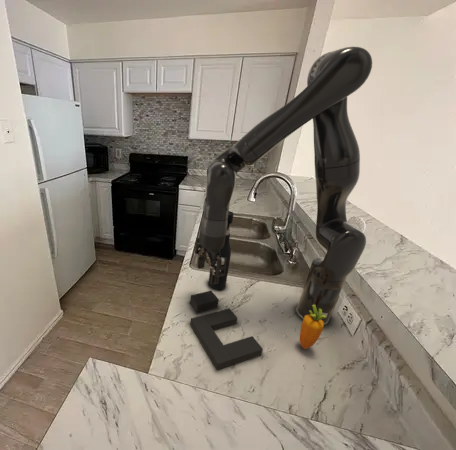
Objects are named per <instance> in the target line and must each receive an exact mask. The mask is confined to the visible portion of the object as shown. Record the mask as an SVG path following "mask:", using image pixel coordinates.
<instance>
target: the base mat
mask: <svg viewBox="0 0 456 450" xmlns="http://www.w3.org/2000/svg"><path fill="white" fill-rule="evenodd" d="M189 323H190V324H189V325H190V326H191V328H192V330H193V332H194V333H195V335H196V337H197V338H198V340H199V342H200V343H201V345H202V347H203V349H204V350H205V353H206V354H207V356H208V357H209V359H210V360H211V363H212V364H213V366H214V368H215V369H216V371H219V370H222V369H225V368H228V367H230V366H233V365H236V364H239V363H242V362H246V361H248V360H250V359H254V358H257V357H260V356H262V354H263V351H264V349H263V347H262V346H261V345H260V343H259V342H258V341H257V340H256V338H255V337H254V336H253V335H251V336H247V337H244V338H241V339H239V340H235V341H231V342H229V343H226V344H223V342H222V340H221V339H220V338H219V336H218V334H217V333H216V331H217V330H220V329H225V328H227V327H228V328H229V327H231V326H234V325H237V323H238V316H236V314H235V313H234V311H233V310H231V308H230V307H229V308H225V309H221V310H218V311H214V312H210V313H206V314H202V315H199V316H195V317H191V318H190V322H189Z"/></svg>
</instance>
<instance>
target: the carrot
mask: <svg viewBox="0 0 456 450" xmlns="http://www.w3.org/2000/svg"><path fill="white" fill-rule="evenodd" d="M312 307H313V311H314V314H313V312H312V311H311V310H309V311H310V313H311V314H310V315H305V316H304V319H302V323H301V327H300V330H299V343H300V346H301V348H302V349H304V350H306V349H309V348H311V347H313V346H314V345H315V343H316V342H318V340H319V338H320V336H321V334H322V332H323V330H324V326H325V325H324V322H323V321H322V320H321V319H323V318H326V316H325V315H321V314H322V310H321V309H319V311H318V316H317V309H316V305H312Z"/></svg>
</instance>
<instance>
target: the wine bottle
mask: <svg viewBox="0 0 456 450" xmlns="http://www.w3.org/2000/svg"><path fill="white" fill-rule="evenodd" d="M233 220H234V212H233V211H230V210H229V213H228V224H227V231H226V238H225V244H224V247H223V248H222V249H221V250H220V254H221V257H226V258H227V263H226V271H225V276H220V277H219V282H218V283H217V284H213V285H212V284H211V276H212V270H211V268H210V267H209V275H208V287H209V288H210V289H212V290H214V291H217V292H218V291H224V290H225V289H226V286H227V280H228V273H229V268H230V261H231V257H232V249H231V243H230V239H231V238H230V237H231V229H230V228H231V227H230V226H231V224H233ZM212 264H216V261H215V262H212ZM214 268H215V271H216V267H214ZM221 271H222V270H221Z"/></svg>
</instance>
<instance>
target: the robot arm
mask: <svg viewBox="0 0 456 450" xmlns="http://www.w3.org/2000/svg"><path fill="white" fill-rule="evenodd" d="M372 68H373V58H372V55H371V53H370V52H369V51H368V50H367V49H365V47H361V46H345V47H342V48H339V49H335V50H332V51H329V52H326V53H324V54H322V55H321V56H319V57H318V58H317V59H316V60H314V62H313V63H312V65H311V66H310V69H309V71H308V74H307V78H306V87H305V88H304V89H303V90H302V91H300V93H298V94H297V95H296V96H295V97H294V98H292V99H291V100H290V101H288V102H287V103H286V104H284V105H283V106H281V107H280V108H279V109H277V110H275V111H274V112H273V113H271V114H269V115H268V116H266V117H265V118H264V119H262V120H261V121H260V122H258V123H257V124H255V125H254V126H253V127H252V128H251V129H250V130H249V131H248V132H246V134H244V135H243V136H242V137H241V138H240V139H238V140H237V142H236V143H234V144H233V145H232V146H231V147H230V148H228V149H226V150H225V151H223V152H222V153H221V154H219V155H218V156H217V157H216V158H214V159H213V160H212V161H211V162H210V163H209V165H208V166H207V169H206V177H207V178H206V179H207V181H206V194H205V198H204V201H203V206H202V207H203V208H202V217H201V219H200V226H199V227H200V228H199V237H197V238H196V241H195V246H194V247H195V248H194V253H195V255H197V256H196V257H197V269H199V270H200V269H204V268H205V265H206V261H207V263H208V267H209V269H210V268H211V270H212V276H211V284H212V285H213V284H217V283H218V282H219V277H220V276H225V271H226V263H227V258H226V257H221V254H220V250H221V249H222V248H223V247H224V244H225V238H226V231H227V224H228V213H229V211H230V207H231V206H230V205H231V204H230V203H231V200H232V197H233V193H234V189H235V185H236V179H237V174H238V173H239V172H240V171H242V170H243V169H244V168H245V167H249V166H253V165H255V164H256V163H258V162H259V161H260V160H261V159H262V158H264V157H265V156H266V155H268V153H270V152H271V151H272V150H274V148H276V147H277V146H278V145H279V144H281V143H282V142H283V141H284V140H285V139H287V138H288V137H289V136H290V135H293V133H295V132H296V131H297V130H299V129H300V128H301V127H303V126H304V125H306V124H307V123H309V122H310V121H311V120H312V123H313V124H312V126H313V151H314V152H313V153H314V157H313V158H314V178H315V188H316V189H315V190H316V203H317V204H316V205H317V207H316V209H317V210H316V223H315V238H316V240H317V242H318V244H319V245H320V246H321V247H322V248H323V249H325V250H326V253H325V255H324V256H318V257H315V258H314V259H313V260H312V262H311V264H310V266H309V270H308V272H307V277H306V279H305V282H304V285H303V288H302V291H301V295H300V297H299V300H298V303H297V305H296V307H295V312H296V314H297V316H298V317H299V318H300V319H301V320H303V319H304V316H305V315H310V314H311V313H310V311H309V310H311V311H312V312H313V314H314V311H313V307H312V305H316V309H317V316H318V311H319V309H321V310H322V314H321V315H325V316H326V318H323V319H321V320H322V321H323V322H324V326H326V325H327V324H328V323H329V321H330V319H331V318H332V315H333V313H334V310H335V309H336V305H337V303H338V302H339V299H340V294H341V292H342V290H343V288H344V285H345V283H346V280H347V277H348V276H349V275H350V274H351V273H352V272H353V271H354V269H356V266H357V264H358V262H359V260H360V259H361V256H362V255H363V253H364V251H365V248H366V245H367V237H366V235H365V233H363V232H362V231H361V230H360V229H358V228H357V227H355V226H354V225H353V224H350V223H349V221H348V219H347V201H348V198H349V197H350V195H351V193H352V192H353V190H354V189H355V187H356V186H357V184H358V182H359V178H360V174H361V173H360V171H361V153H360V152H361V151H360V145H359V143H358V139H357V137H356V135H355V132H354V130H353V127H352V125H351V121H350V119H349V114H348V97H349V96H351V95H352V94H353V93H355V92H357V91H358V90H360V88H361V87H362V86H363V85H364V84H365V83H366V81H367V80H368V78H369V76H370V74H371V72H372ZM215 261H216V264H212V262H215ZM214 267H216V271H215V268H214ZM221 270H222V271H221Z"/></svg>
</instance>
